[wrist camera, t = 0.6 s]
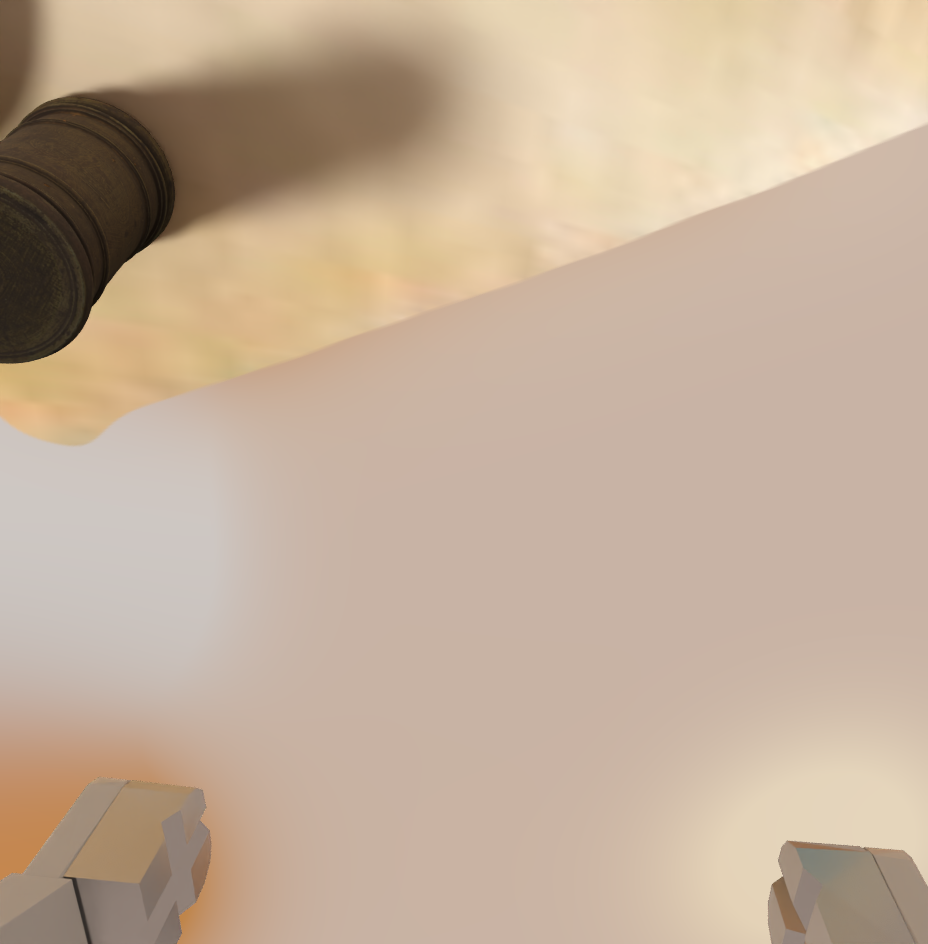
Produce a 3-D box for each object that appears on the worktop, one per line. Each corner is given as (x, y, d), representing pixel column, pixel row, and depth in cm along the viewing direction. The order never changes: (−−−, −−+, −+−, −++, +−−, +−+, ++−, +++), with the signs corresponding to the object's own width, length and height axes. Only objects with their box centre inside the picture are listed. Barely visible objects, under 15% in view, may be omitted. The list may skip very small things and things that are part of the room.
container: (23, 73, 43) (-155, 130, 28) (186, 127, 45) (103, 206, 30) (17, 225, 47) (-139, 343, 32) (166, 266, 50) (84, 394, 35)
